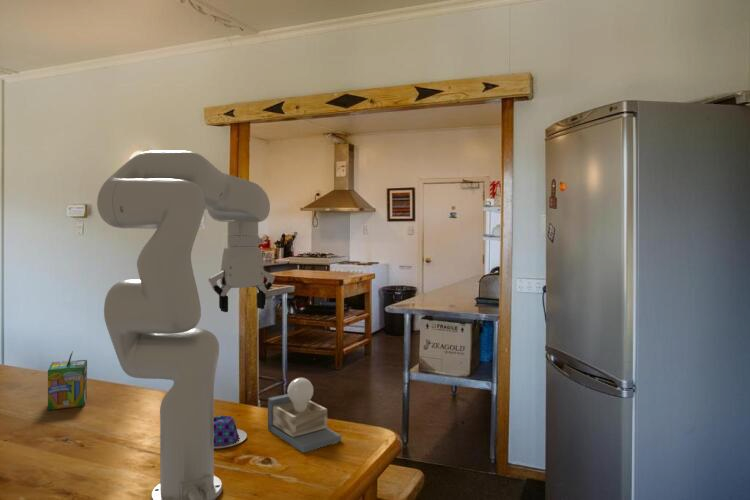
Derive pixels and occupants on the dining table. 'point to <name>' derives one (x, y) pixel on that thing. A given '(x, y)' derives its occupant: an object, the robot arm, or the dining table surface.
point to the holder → (299, 418)
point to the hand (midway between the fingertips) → (242, 309)
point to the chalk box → (67, 384)
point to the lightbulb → (300, 394)
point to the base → (301, 441)
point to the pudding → (226, 432)
